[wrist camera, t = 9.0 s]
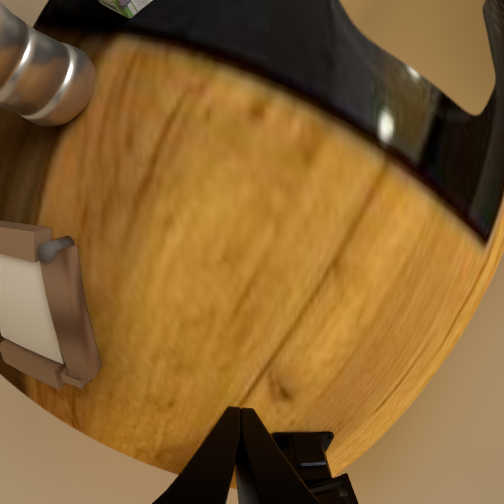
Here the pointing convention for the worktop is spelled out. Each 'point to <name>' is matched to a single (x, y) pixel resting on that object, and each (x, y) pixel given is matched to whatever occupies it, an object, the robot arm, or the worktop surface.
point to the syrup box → (126, 6)
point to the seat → (28, 308)
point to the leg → (69, 307)
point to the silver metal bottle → (41, 74)
